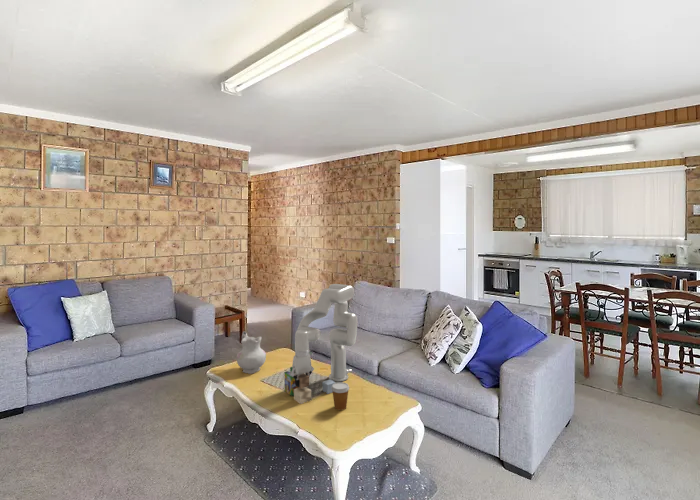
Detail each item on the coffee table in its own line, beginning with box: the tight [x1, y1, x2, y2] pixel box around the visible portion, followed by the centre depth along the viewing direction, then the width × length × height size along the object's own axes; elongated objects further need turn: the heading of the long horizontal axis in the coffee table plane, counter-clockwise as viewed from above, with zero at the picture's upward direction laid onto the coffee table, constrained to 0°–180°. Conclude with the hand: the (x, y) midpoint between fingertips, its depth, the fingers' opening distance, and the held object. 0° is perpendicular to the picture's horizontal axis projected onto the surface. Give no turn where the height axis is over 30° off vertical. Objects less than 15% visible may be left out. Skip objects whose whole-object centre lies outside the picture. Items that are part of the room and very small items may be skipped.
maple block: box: [293, 386, 312, 405], centre depth 213 cm, size 7×7×6 cm
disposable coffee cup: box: [331, 381, 350, 411], centre depth 204 cm, size 10×10×12 cm
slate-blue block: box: [321, 379, 336, 395], centre depth 224 cm, size 6×6×6 cm
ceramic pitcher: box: [236, 331, 267, 375], centre depth 257 cm, size 22×20×25 cm
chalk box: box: [284, 366, 305, 397], centre depth 224 cm, size 9×9×15 cm
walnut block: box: [299, 374, 310, 388], centre depth 213 cm, size 6×6×6 cm
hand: (302, 384), depth 213 cm, fingers closed on walnut block, 5 cm apart
